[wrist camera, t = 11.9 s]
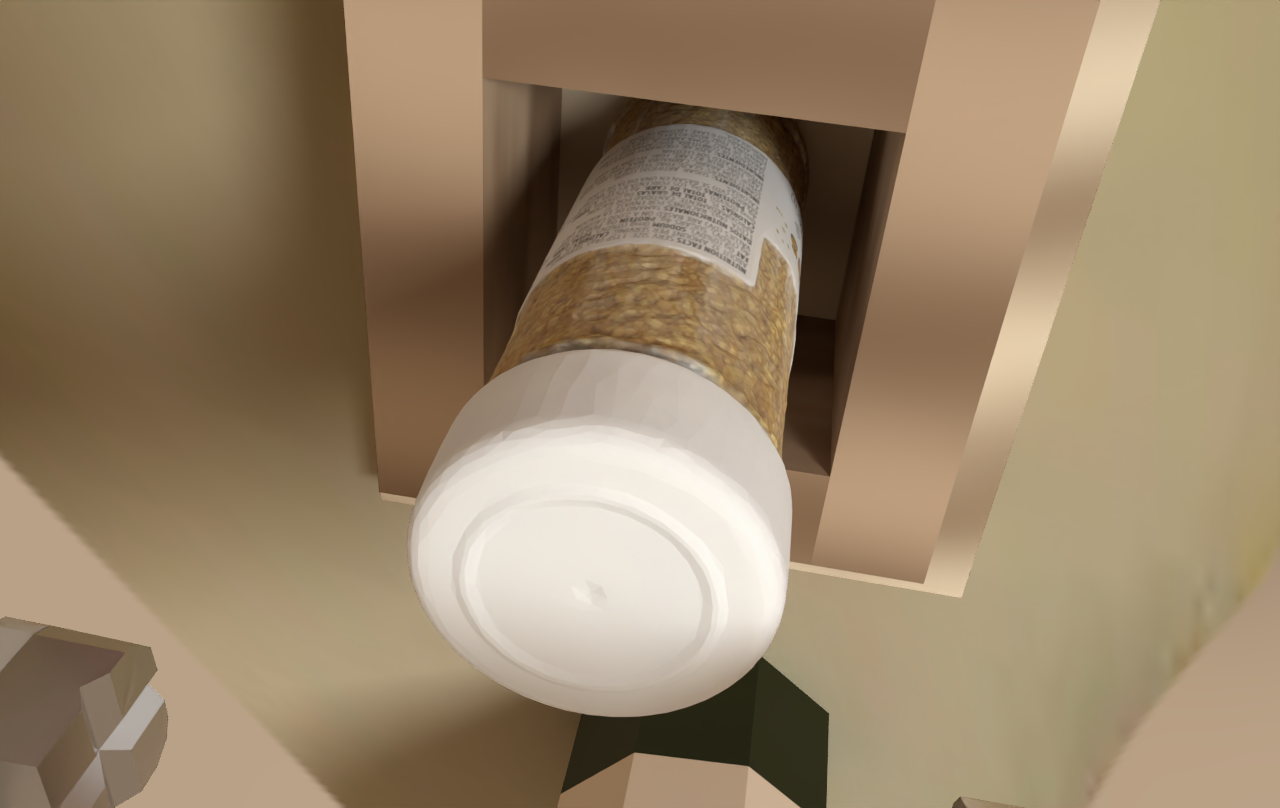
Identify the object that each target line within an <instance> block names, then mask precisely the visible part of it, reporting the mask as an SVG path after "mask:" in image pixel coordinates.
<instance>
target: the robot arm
mask: <svg viewBox="0 0 1280 808" xmlns="http://www.w3.org/2000/svg"><path fill="white" fill-rule="evenodd" d="M156 672H157V667H156V664H155V661H154V657H153V654H152V650H151V648H150V647H147V646H143V645H138V644H133V643H129V642H124V641H120V640H115V639H110V638H106V637H101V636H97V635H92V634H88V633H83V632H78V631H73V630H69V629H64V628H60V627H55V626H51V625H45V624H40V623H35V622H29V621H25V620H20V619H15V618H10V617H4V618H2V619H0V808H115V807H116V806H118V805H119V804H121V803H123V802H124V801H126V800H128V799H129V798H131V797H133V796H134V795H136V794H138V793H139V792H141V791H142V790H143V788H144V787H145V785H146V783H147V782H148V780H149V779H150V777H151V775H152V774H153V772H154V771H155V769H156V767H157V765H158V762H159V759H160V757H161V754H162V751H163V748H164V745H165V742H166V739H167V727H168V715H167V709H166V705H165V700H164V699H163V698H162V697H161V696H160V695H159V694H158V693H157V692H156V691H155V690H154V689H153V688H152V687H151V686H150V685H149V684H148V683H149V681H150V680H151V679H152V677H153V676H154V674H155V673H156ZM952 808H1024V807H1019V806H1013V805H1007V804H1001V803H995V802H990V801H984V800H978V799H972V798H967V797H961V796H960V797H959V798H958V799H957V800H956V801H955V802H954V804H953V807H952Z"/></svg>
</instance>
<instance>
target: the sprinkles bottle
mask: <svg viewBox="0 0 1280 808" xmlns="http://www.w3.org/2000/svg"><path fill="white" fill-rule="evenodd" d="M808 187H809V162H808V154H807V148H806V145H805V142H804V140H803V138H802V135H801V133H800V131H799V129H798V127H797V125H796V123H795V121H794V119H793V118H786V117H779V116H771V115H763V114H756V113H748V112H741V111H733V110H725V109H718V108H710V107H702V106H695V105H687V104H680V103H672V102H664V101H657V100H649V99H641V98H634V97H632V98H631V99H630V100H629V101H628V102H627V103H626V104H625V105H624V106H623V107H622V108H621V110H620V111H619V113H618V114H617V116H616V117H615V119H614V121H613V122H612V124H611V126H610V128H609V130H608V133H607V135H606V138H605V142H604V147H603V152H602V155H601V159H600V161H599V162H598V163H597V164H596V166H595V167H594V169H593V170H592V172H591V173H590V175H589V176H588V178H587V180H586V182H585V184H584V185H583V187H582V189H581V191H580V193H579V195H578V197H577V199H576V201H575V203H574V205H573V207H572V209H571V211H570V212H569V214H568V216H567V218H566V220H565V222H564V224H563V226H562V228H561V230H560V231H559V233H558V235H557V237H556V239H555V241H554V243H553V245H552V247H551V249H550V251H549V253H548V255H547V257H546V259H545V261H544V263H543V265H542V267H541V269H540V270H539V272H538V274H537V276H536V278H535V281H534V283H533V285H532V287H531V289H530V291H529V293H528V295H527V297H526V299H525V301H524V303H523V305H522V307H521V309H520V311H519V313H518V316H517V319H516V323H515V328H514V330H513V333H512V336H511V338H510V340H509V342H508V344H507V346H506V349H505V351H504V353H503V355H502V356H501V358H500V360H499V362H498V364H497V366H496V368H495V370H494V373H493V375H492V377H491V378H490V380H489V382H488V383H487V384H486V385H485V386H483V387H482V388H480V389H479V391H478V392H477V393H476V394H475V395H474V396H473V397H472V398H471V399H470V400H469V401H468V402H467V403H466V404H465V406H464V407H463V408H462V410H461V411H460V413H459V414H458V416H457V417H456V419H455V420H454V422H453V424H452V425H451V427H450V429H449V431H448V433H447V435H446V437H445V439H444V441H443V443H442V444H441V446H440V448H439V450H438V453H437V455H436V457H435V459H434V461H433V463H432V465H431V467H430V469H429V471H428V473H427V475H426V478H425V480H424V482H423V485H422V487H421V489H420V491H419V494H418V496H417V498H416V501H415V504H414V507H413V511H412V514H411V518H410V522H409V526H408V536H407V556H408V564H409V570H410V576H411V579H412V583H413V586H414V589H415V592H416V594H417V596H418V599H419V601H420V603H421V605H422V608H423V610H424V611H425V613H426V615H427V616H428V618H429V619H430V621H431V622H432V624H433V626H434V627H435V628H436V630H437V631H438V632H439V634H440V635H441V636H442V638H443V639H444V640H445V641H446V642H447V643H448V644H449V645H450V646H451V647H452V648H453V649H454V650H455V651H456V652H457V653H458V654H459V655H460V656H461V657H462V658H463V659H464V660H466V661H467V662H468V663H469V664H471V665H472V666H473V667H474V668H476V669H477V670H478V671H480V672H481V673H483V674H484V675H485V676H487V677H488V678H490V679H491V680H493V681H495V682H496V683H498V684H500V685H502V686H503V687H505V688H507V689H510V690H512V691H514V692H516V693H518V694H520V695H522V696H524V697H526V698H529V699H532V700H534V701H537V702H540V703H542V704H545V705H549V706H552V707H555V708H559V709H562V710H566V711H571V712H576V713H582V714H587V715H596V716H608V717H640V716H648V715H655V714H662V713H668V712H672V711H675V710H679V709H683V708H686V707H689V706H692V705H694V704H697V703H700V702H702V701H705V700H707V699H709V698H711V697H713V696H715V695H717V694H718V693H720V692H722V691H724V690H725V689H727V688H729V687H730V686H731V685H733V684H734V683H735V682H737V681H738V680H739V679H741V678H742V677H743V676H744V675H745V674H746V673H748V672H749V671H750V670H751V669H752V668H753V667H754V665H755V664H756V663H757V661H758V660H759V659H760V658H761V657H762V656H763V654H764V652H765V651H766V650H767V648H768V647H769V646H770V644H771V642H772V640H773V637H774V635H775V633H776V631H777V629H778V626H779V624H780V621H781V617H782V613H783V609H784V605H785V601H786V592H787V582H788V573H789V563H790V545H791V528H792V498H791V489H790V484H789V480H788V477H787V473H786V470H785V466H784V463H783V461H782V442H783V431H784V423H785V412H786V407H787V391H788V383H789V376H790V370H791V366H792V361H793V354H794V347H795V341H796V320H797V311H798V301H799V285H800V273H801V261H802V247H803V225H802V218H801V214H802V211H803V208H804V205H805V202H806V199H807V193H808Z"/></svg>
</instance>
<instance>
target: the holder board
mask: <svg viewBox="0 0 1280 808" xmlns="http://www.w3.org/2000/svg"><path fill="white" fill-rule="evenodd" d="M343 1H344V15H345V29H346V43H347V56H348V70H349V84H350V98H351V111H352V125H353V139H354V153H355V166H356V180H357V194H358V208H359V221H360V235H361V249H362V263H363V276H364V290H365V304H366V318H367V331H368V345H369V359H370V373H371V386H372V400H373V414H374V428H375V441H376V455H377V469H378V483H379V492H381V500H387V501H392V502H398V503H404V504H410V505H414V504H415V501H416V498H417V496H418V494H419V491H420V489H421V487H422V485H423V482H424V480H425V478H426V475H427V473H428V471H429V469H430V467H431V465H432V463H433V461H434V459H435V457H436V455H437V453H438V450H439V448H440V446H441V444H442V443H443V441H444V439H445V437H446V435H447V433H448V431H449V429H450V427H451V425H452V424H453V422H454V420H455V419H456V417H457V416H458V414H459V413H460V411H461V410H462V408H463V407H464V406H465V404H466V403H467V402H468V401H469V400H470V399H471V398H472V397H473V396H474V395H475V394H476V393H477V392H478V391H479V389H480V388H482V387H483V386H485V385H486V384H487V383H488V382H489V380H490V378H491V377H492V375H493V373H494V370H495V368H496V366H497V364H498V362H499V360H500V358H501V356H502V355H503V353H504V351H505V349H506V346H507V344H508V342H509V340H510V338H511V336H512V333H513V330H514V328H515V323H516V319H517V316H518V313H519V311H520V309H521V307H522V305H523V303H524V301H525V299H526V297H527V295H528V293H529V291H530V289H531V287H532V285H533V283H534V281H535V278H536V276H537V274H538V272H539V270H540V269H541V267H542V265H543V263H544V261H545V259H546V257H547V255H548V253H549V251H550V249H551V247H552V245H553V243H554V241H555V239H556V237H557V235H558V233H559V231H560V230H561V228H562V226H563V224H564V222H565V220H566V218H567V216H568V214H569V212H570V211H571V209H572V207H573V205H574V203H575V201H576V199H577V197H578V195H579V193H580V191H581V189H582V187H583V185H584V184H585V182H586V180H587V178H588V176H589V175H590V173H591V172H592V170H593V169H594V167H595V166H596V164H597V163H598V162H599V161H600V159H601V155H602V152H603V147H604V142H605V138H606V135H607V133H608V130H609V128H610V126H611V124H612V122H613V121H614V119H615V117H616V116H617V114H618V113H619V111H620V110H621V108H622V107H623V106H624V105H625V104H626V103H627V102H628V101H629V100H630V99H631V98H632V97H634V98H641V99H649V100H657V101H664V102H672V103H680V104H687V105H695V106H702V107H710V108H718V109H725V110H733V111H741V112H748V113H756V114H763V115H771V116H779V117H786V118H793V119H794V121H795V123H796V125H797V127H798V129H799V131H800V133H801V135H802V138H803V140H804V142H805V145H806V148H807V154H808V162H809V187H808V193H807V199H806V202H805V205H804V208H803V211H802V214H801V218H802V225H803V247H802V261H801V273H800V285H799V301H798V311H797V320H796V341H795V347H794V354H793V361H792V366H791V370H790V376H789V383H788V391H787V407H786V412H785V423H784V431H783V442H782V461H783V463H784V466H785V470H786V473H787V477H788V480H789V484H790V489H791V498H792V528H791V545H790V563H789V569H794V570H800V571H806V572H812V573H818V574H824V575H829V576H835V577H841V578H847V579H853V580H859V581H865V582H871V583H877V584H883V585H889V586H894V587H900V588H906V589H912V590H918V591H924V592H930V593H936V594H942V595H948V596H954V597H959V598H961V597H962V594H963V591H964V588H965V585H966V582H967V579H968V576H969V573H970V570H971V567H972V564H973V561H974V558H975V555H976V552H977V549H978V546H979V543H980V540H981V537H982V534H983V531H984V528H985V525H986V522H987V519H988V516H989V513H990V510H991V507H992V504H993V501H994V498H995V495H996V492H997V489H998V486H999V483H1000V480H1001V477H1002V474H1003V471H1004V468H1005V465H1006V462H1007V459H1008V456H1009V453H1010V450H1011V447H1012V444H1013V441H1014V438H1015V435H1016V432H1017V429H1018V426H1019V423H1020V420H1021V417H1022V414H1023V411H1024V408H1025V405H1026V402H1027V399H1028V396H1029V393H1030V390H1031V387H1032V384H1033V381H1034V378H1035V375H1036V372H1037V369H1038V366H1039V363H1040V360H1041V357H1042V354H1043V351H1044V348H1045V345H1046V342H1047V339H1048V336H1049V333H1050V330H1051V327H1052V324H1053V321H1054V318H1055V315H1056V312H1057V309H1058V306H1059V303H1060V300H1061V297H1062V294H1063V291H1064V288H1065V285H1066V282H1067V279H1068V276H1069V273H1070V270H1071V267H1072V264H1073V261H1074V258H1075V255H1076V252H1077V249H1078V246H1079V243H1080V240H1081V237H1082V234H1083V231H1084V228H1085V225H1086V222H1087V219H1088V216H1089V213H1090V210H1091V207H1092V204H1093V201H1094V198H1095V195H1096V192H1097V189H1098V186H1099V183H1100V180H1101V177H1102V174H1103V171H1104V168H1105V165H1106V162H1107V159H1108V156H1109V153H1110V150H1111V147H1112V144H1113V141H1114V138H1115V135H1116V132H1117V129H1118V126H1119V123H1120V120H1121V117H1122V114H1123V111H1124V108H1125V105H1126V102H1127V99H1128V96H1129V93H1130V90H1131V87H1132V84H1133V81H1134V78H1135V75H1136V72H1137V69H1138V66H1139V63H1140V60H1141V57H1142V54H1143V51H1144V48H1145V45H1146V42H1147V39H1148V36H1149V33H1150V30H1151V27H1152V24H1153V21H1154V18H1155V15H1156V12H1157V9H1158V6H1159V3H1160V0H343Z"/></svg>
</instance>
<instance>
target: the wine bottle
mask: <svg viewBox="0 0 1280 808" xmlns="http://www.w3.org/2000/svg"><path fill="white" fill-rule="evenodd" d="M828 726H829V713H827V712H826V711H825V710H824V709H823V708H822V707H820V706H819V705H818V704H817V703H816V702H814V701H813V700H812V699H811V698H810V697H809V696H807V695H806V694H805V693H804V692H803V691H801V690H800V689H799V688H798V687H797V686H795V685H794V684H793V683H792V682H791V681H790V680H788V679H787V678H786V677H785V676H784V675H782V674H781V673H780V672H779V671H778V670H777V669H775V668H774V667H773V666H772V665H771V664H769V663H768V662H767V661H766V660H765V659H764V658H762V657H761V658H760V659H759V660H758V661H757V663H756V664H755V665H754V667H753V668H752V669H751V670H750V671H749V672H748V673H746V674H745V675H744V676H743V677H742V678H741V679H739V680H738V681H737V682H735V683H734V684H733V685H731V686H730V687H729V688H727V689H725V690H724V691H722V692H720V693H718V694H717V695H715V696H713V697H711V698H709V699H707V700H705V701H702V702H700V703H697V704H694V705H692V706H689V707H686V708H683V709H679V710H675V711H672V712H668V713H662V714H655V715H648V716H640V717H608V716H596V715H587V714H582V716H581V719H580V723H579V727H578V731H577V734H576V738H575V742H574V746H573V750H572V753H571V757H570V761H569V765H568V768H567V772H566V776H565V780H564V783H563V787H562V791H561V795H560V799H559V802H558V806H557V808H826V799H827V762H828Z"/></svg>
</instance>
